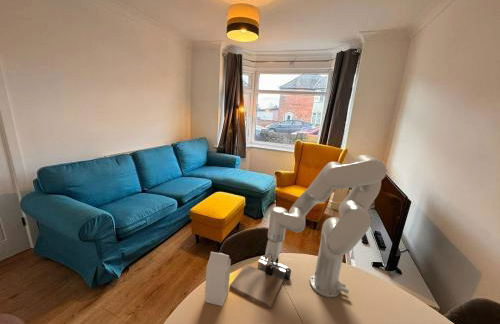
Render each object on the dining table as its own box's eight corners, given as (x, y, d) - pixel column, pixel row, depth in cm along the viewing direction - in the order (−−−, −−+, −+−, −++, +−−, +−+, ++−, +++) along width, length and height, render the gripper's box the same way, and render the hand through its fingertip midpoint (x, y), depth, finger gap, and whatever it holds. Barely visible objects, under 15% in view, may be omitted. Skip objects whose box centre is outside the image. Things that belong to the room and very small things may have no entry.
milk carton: (222, 306, 77) (226, 261, 73) (204, 302, 78) (206, 257, 74) (228, 291, 84) (231, 249, 80) (211, 287, 85) (214, 246, 81)
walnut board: (282, 282, 91) (283, 279, 91) (270, 309, 78) (270, 305, 77) (246, 266, 99) (246, 264, 98) (229, 288, 85) (229, 285, 85)
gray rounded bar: (291, 276, 95) (292, 268, 95) (288, 281, 92) (289, 274, 91) (261, 263, 102) (261, 256, 101) (257, 268, 98) (258, 261, 97)
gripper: (274, 224, 102) (270, 255, 106) (261, 241, 87) (256, 277, 90) (289, 228, 99) (284, 261, 103) (278, 247, 84) (273, 285, 87)
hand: (271, 268), depth 97 cm, fingers open, 7 cm apart
